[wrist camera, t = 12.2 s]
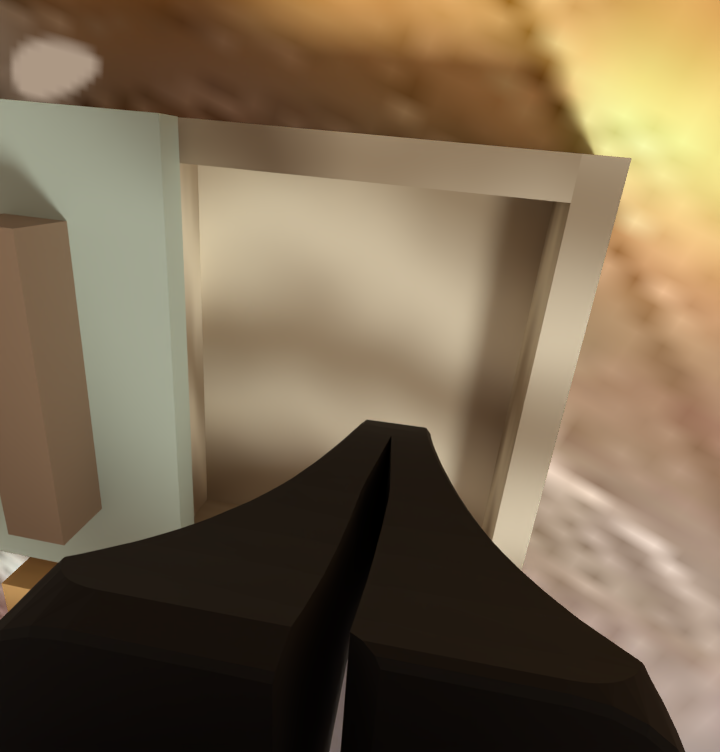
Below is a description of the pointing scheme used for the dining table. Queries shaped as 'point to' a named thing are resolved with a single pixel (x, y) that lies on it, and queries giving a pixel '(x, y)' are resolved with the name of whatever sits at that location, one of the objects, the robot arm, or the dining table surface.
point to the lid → (91, 330)
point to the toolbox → (385, 304)
